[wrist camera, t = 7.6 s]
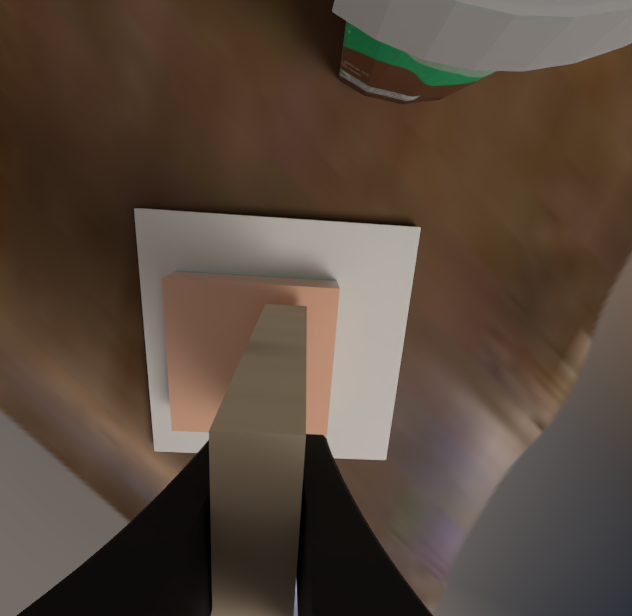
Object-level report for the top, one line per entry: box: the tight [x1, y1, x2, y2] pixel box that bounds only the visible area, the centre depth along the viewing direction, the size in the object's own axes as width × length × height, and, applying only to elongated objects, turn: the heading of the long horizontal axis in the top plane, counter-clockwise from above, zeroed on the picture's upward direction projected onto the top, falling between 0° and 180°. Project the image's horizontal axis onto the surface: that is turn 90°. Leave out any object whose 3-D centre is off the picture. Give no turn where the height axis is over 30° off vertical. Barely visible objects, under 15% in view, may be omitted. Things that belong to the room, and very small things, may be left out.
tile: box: [162, 271, 340, 437], centre depth 15 cm, size 7×2×7 cm
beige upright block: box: [209, 304, 307, 616], centre depth 10 cm, size 6×2×8 cm, turn 176°
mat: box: [134, 208, 421, 460], centre depth 16 cm, size 12×12×1 cm
